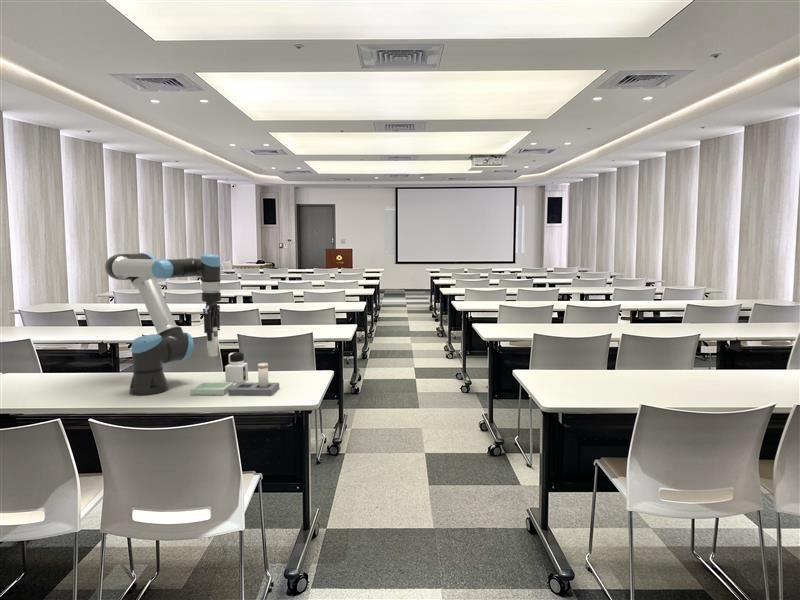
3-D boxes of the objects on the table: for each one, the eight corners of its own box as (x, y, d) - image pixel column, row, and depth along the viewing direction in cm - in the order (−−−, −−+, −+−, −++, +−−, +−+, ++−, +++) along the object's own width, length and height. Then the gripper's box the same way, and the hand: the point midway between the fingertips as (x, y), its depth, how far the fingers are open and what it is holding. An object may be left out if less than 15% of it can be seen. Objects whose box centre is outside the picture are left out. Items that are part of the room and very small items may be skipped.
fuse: (257, 393, 242) (256, 364, 241) (260, 390, 246) (259, 362, 245) (267, 393, 242) (266, 364, 241) (270, 390, 246) (269, 362, 245)
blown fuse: (206, 356, 242) (205, 328, 241) (209, 354, 246) (209, 326, 245) (216, 356, 242) (215, 328, 241) (219, 354, 246) (218, 326, 245)
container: (248, 379, 268) (247, 351, 266) (242, 383, 260) (241, 354, 259) (232, 378, 268) (231, 351, 267) (225, 382, 261) (224, 354, 259)
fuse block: (228, 395, 239) (228, 389, 239) (238, 388, 251) (238, 382, 251) (271, 395, 238) (271, 389, 238) (279, 388, 250) (279, 382, 250)
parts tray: (190, 395, 240) (190, 389, 240) (202, 388, 252) (201, 382, 252) (223, 395, 239) (223, 389, 239) (233, 388, 251) (233, 382, 251)
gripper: (212, 294, 233) (214, 351, 235) (227, 289, 250) (228, 343, 252) (194, 293, 233) (195, 351, 236) (209, 289, 250) (211, 343, 253)
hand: (212, 347), depth 244 cm, fingers closed on blown fuse, 4 cm apart
